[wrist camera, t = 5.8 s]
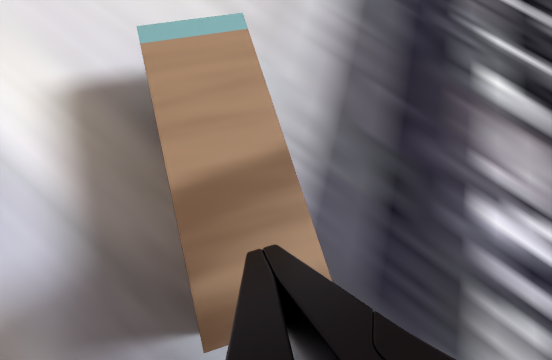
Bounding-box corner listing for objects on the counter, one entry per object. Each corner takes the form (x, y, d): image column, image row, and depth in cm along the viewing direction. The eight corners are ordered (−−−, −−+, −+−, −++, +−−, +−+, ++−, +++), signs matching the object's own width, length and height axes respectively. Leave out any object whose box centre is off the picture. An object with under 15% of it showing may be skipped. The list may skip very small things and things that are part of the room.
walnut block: (340, 305, 11) (242, 12, 15) (204, 353, 10) (136, 26, 14) (309, 300, 16) (240, 77, 20) (213, 332, 15) (161, 90, 19)
